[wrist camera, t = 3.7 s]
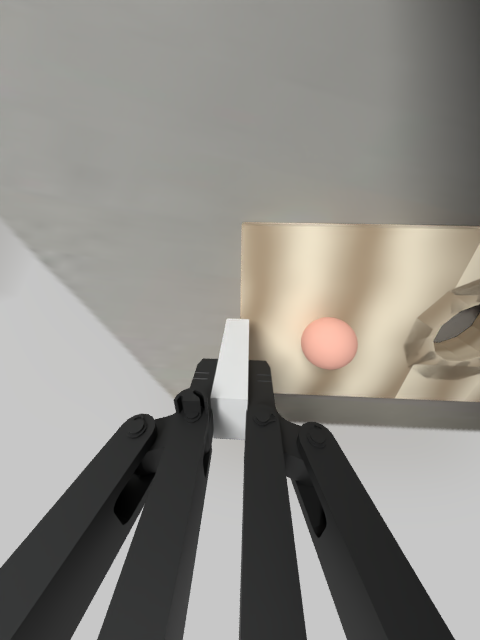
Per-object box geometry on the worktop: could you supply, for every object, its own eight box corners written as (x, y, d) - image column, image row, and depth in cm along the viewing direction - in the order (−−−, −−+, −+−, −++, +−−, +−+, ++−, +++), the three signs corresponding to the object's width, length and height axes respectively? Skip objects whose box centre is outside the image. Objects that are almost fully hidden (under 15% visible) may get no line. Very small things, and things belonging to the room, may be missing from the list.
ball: (328, 298, 14) (349, 324, 11) (353, 331, 15) (379, 362, 12) (287, 327, 16) (296, 357, 12) (313, 355, 17) (327, 389, 14)
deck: (240, 372, 21) (239, 391, 19) (243, 222, 14) (241, 225, 12) (482, 382, 20) (510, 403, 18) (607, 227, 14) (674, 232, 11)
